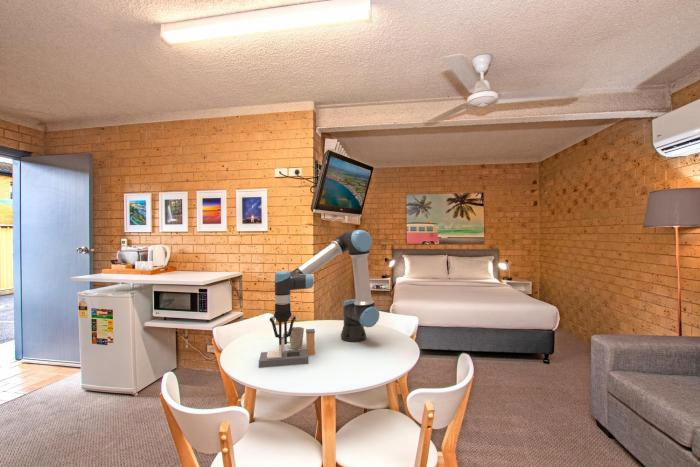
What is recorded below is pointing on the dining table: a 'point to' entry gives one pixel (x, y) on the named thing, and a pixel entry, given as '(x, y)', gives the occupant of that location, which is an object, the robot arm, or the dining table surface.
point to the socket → (285, 358)
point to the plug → (310, 341)
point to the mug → (296, 337)
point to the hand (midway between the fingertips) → (283, 350)
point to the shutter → (274, 353)
